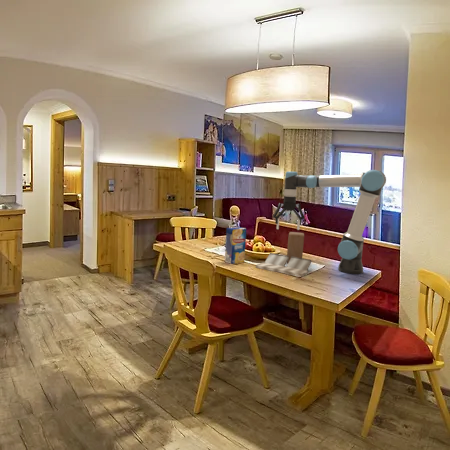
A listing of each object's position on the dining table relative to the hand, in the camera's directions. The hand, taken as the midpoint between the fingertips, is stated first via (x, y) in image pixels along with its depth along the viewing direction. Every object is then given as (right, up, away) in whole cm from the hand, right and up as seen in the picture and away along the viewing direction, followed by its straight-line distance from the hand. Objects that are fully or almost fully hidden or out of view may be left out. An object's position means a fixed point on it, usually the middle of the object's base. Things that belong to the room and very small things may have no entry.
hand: (287, 229), depth 256 cm
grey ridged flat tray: (-6, -25, -11) cm, 28 cm away
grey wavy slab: (+6, -22, -7) cm, 24 cm away
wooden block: (+6, -23, +12) cm, 26 cm away
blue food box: (-34, -21, +4) cm, 40 cm away
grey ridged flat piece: (-7, -20, +1) cm, 22 cm away
